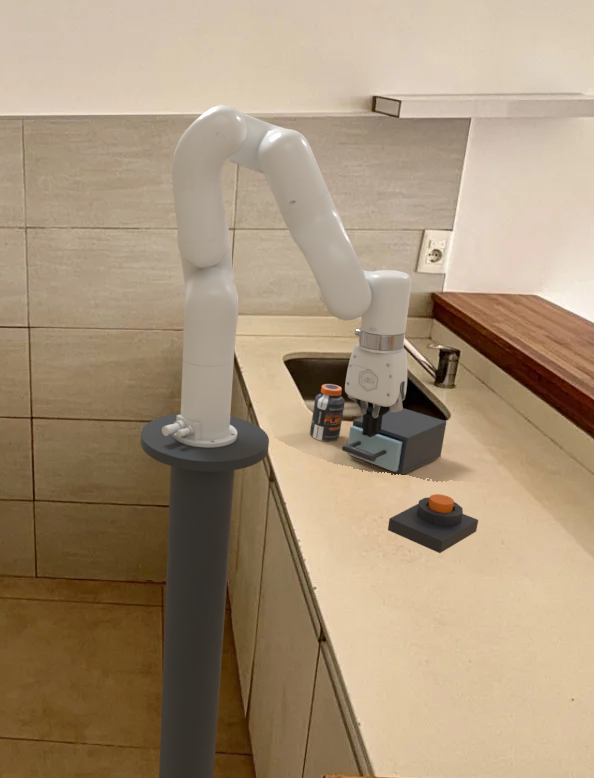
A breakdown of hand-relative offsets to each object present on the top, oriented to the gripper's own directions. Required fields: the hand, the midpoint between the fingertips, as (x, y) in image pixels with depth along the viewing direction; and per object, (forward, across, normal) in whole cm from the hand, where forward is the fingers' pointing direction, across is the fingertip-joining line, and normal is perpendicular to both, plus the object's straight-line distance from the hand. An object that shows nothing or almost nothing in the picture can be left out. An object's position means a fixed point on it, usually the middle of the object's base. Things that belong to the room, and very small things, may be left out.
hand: (370, 434), depth 144 cm
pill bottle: (+7, -15, +7) cm, 18 cm away
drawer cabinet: (+8, 0, +10) cm, 13 cm away
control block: (+8, +20, -12) cm, 25 cm away
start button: (+4, +20, -10) cm, 23 cm away
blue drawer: (+7, 0, +5) cm, 8 cm away
